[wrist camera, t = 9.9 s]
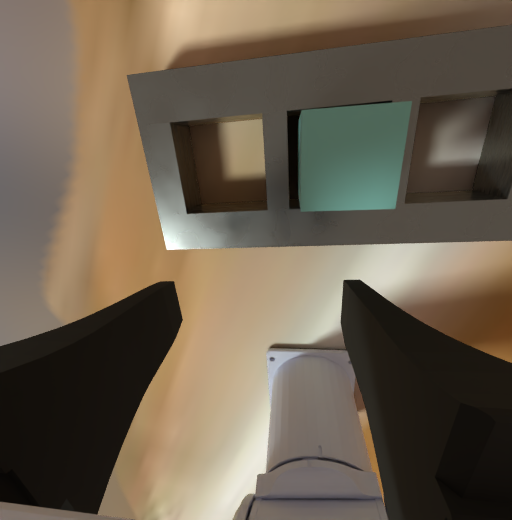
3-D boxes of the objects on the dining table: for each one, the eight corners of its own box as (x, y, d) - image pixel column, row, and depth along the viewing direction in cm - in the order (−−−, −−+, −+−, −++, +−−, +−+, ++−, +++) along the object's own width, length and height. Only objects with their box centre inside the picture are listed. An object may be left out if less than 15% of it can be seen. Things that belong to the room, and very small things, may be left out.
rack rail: (494, 225, 17) (531, 239, 15) (183, 235, 21) (166, 249, 18) (550, 38, 13) (617, 11, 11) (153, 86, 17) (126, 75, 14)
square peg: (357, 185, 17) (395, 209, 11) (297, 187, 18) (300, 211, 12) (363, 118, 16) (412, 100, 10) (297, 123, 16) (302, 110, 10)
